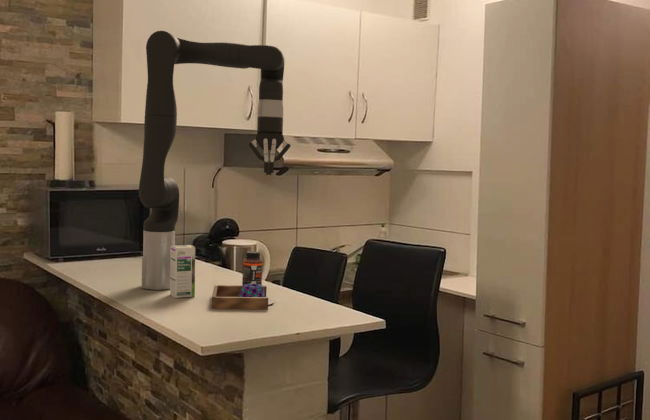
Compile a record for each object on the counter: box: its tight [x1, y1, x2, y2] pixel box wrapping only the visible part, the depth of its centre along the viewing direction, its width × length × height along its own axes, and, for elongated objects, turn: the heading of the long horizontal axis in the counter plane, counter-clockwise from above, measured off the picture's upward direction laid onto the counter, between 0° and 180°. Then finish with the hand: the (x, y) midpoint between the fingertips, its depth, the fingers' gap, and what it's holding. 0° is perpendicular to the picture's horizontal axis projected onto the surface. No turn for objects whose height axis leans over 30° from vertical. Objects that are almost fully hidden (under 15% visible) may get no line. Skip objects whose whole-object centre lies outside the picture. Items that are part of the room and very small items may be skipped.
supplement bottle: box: [241, 250, 263, 286], centre depth 222 cm, size 6×6×11 cm
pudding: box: [238, 284, 275, 306], centre depth 202 cm, size 12×12×5 cm
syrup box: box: [169, 244, 196, 299], centre depth 208 cm, size 6×6×14 cm
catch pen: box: [211, 284, 269, 310], centre depth 202 cm, size 15×17×3 cm
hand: (268, 174), depth 216 cm, fingers closed
